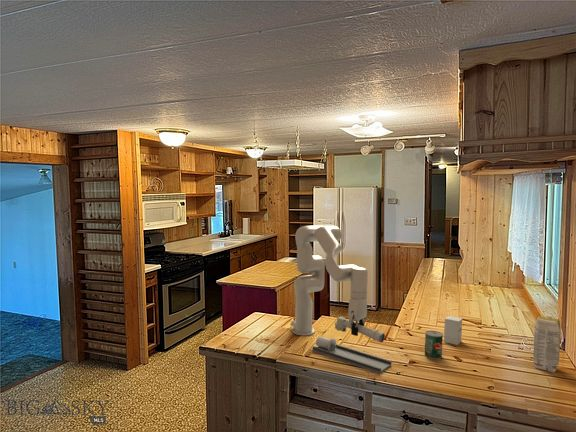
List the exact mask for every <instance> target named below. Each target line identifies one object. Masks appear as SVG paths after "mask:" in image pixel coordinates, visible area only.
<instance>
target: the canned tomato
mask: <svg viewBox="0 0 576 432" xmlns="http://www.w3.org/2000/svg"><path fill="white" fill-rule="evenodd" d="M424 338H425V340H424V357H426V358H428V359H431V360H441V359H442V357H443V342H444V333H442V332H440V331H437V330H426V331H425V336H424Z"/></svg>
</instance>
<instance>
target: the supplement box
mask: <svg viewBox="0 0 576 432" xmlns="http://www.w3.org/2000/svg"><path fill="white" fill-rule="evenodd" d="M443 330H444V331H443V342H444V343H447V344H450V345H451V344H452V345H456V346H458V345H459V344H460V343H461V342H462V332H463V318H462V317H458V316H457V317H456V316H453V315H452V316H451V315H447V317H445V318H444V329H443Z"/></svg>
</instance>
